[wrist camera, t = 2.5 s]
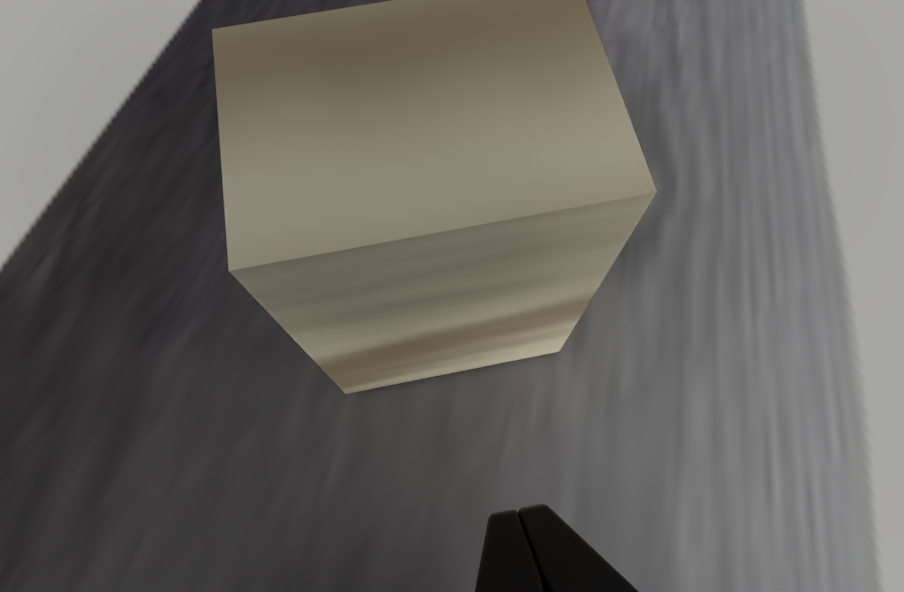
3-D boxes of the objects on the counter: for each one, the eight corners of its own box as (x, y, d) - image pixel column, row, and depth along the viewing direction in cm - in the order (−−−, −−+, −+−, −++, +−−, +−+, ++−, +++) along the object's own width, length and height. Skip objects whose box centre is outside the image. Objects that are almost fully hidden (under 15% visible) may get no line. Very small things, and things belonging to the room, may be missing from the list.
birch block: (559, 351, 19) (657, 191, 10) (345, 394, 18) (228, 271, 9) (522, 217, 21) (575, -30, 11) (326, 253, 20) (212, 29, 11)
